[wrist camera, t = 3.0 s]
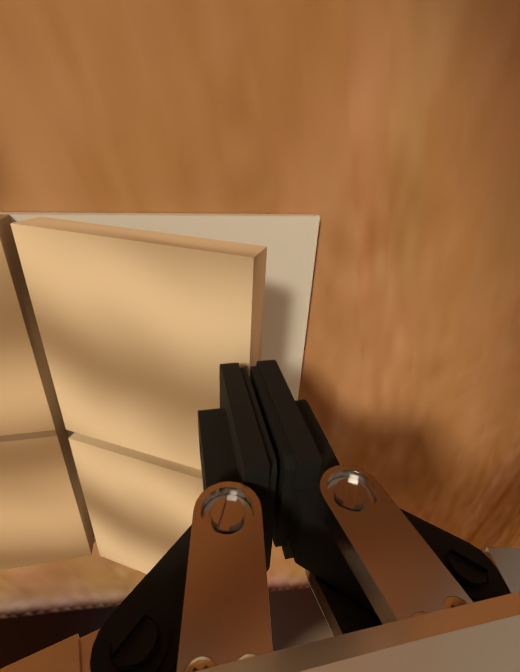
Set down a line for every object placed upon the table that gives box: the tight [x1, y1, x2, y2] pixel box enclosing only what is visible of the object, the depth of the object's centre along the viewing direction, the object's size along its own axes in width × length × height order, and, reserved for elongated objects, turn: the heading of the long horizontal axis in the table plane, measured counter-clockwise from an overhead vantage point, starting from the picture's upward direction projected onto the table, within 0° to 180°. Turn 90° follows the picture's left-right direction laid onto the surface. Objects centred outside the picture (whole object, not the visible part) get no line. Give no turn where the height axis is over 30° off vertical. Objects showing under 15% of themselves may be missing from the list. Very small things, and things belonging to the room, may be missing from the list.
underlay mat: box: [0, 212, 320, 540], centre depth 17 cm, size 18×20×1 cm
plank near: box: [10, 217, 267, 470], centre depth 13 cm, size 8×8×1 cm
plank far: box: [68, 432, 204, 574], centre depth 17 cm, size 8×8×1 cm
